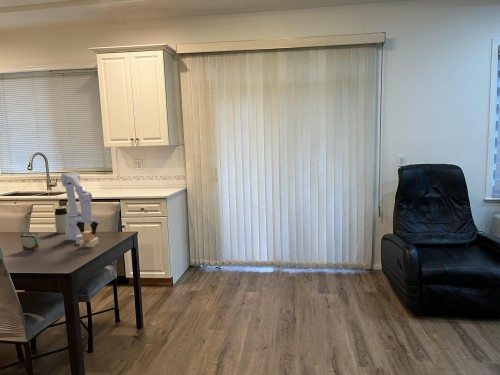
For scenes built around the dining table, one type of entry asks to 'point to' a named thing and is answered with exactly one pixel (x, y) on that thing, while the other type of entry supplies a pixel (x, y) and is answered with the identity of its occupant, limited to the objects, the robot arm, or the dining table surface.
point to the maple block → (89, 243)
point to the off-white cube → (78, 239)
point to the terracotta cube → (87, 236)
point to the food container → (30, 242)
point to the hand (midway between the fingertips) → (88, 234)
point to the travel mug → (60, 219)
